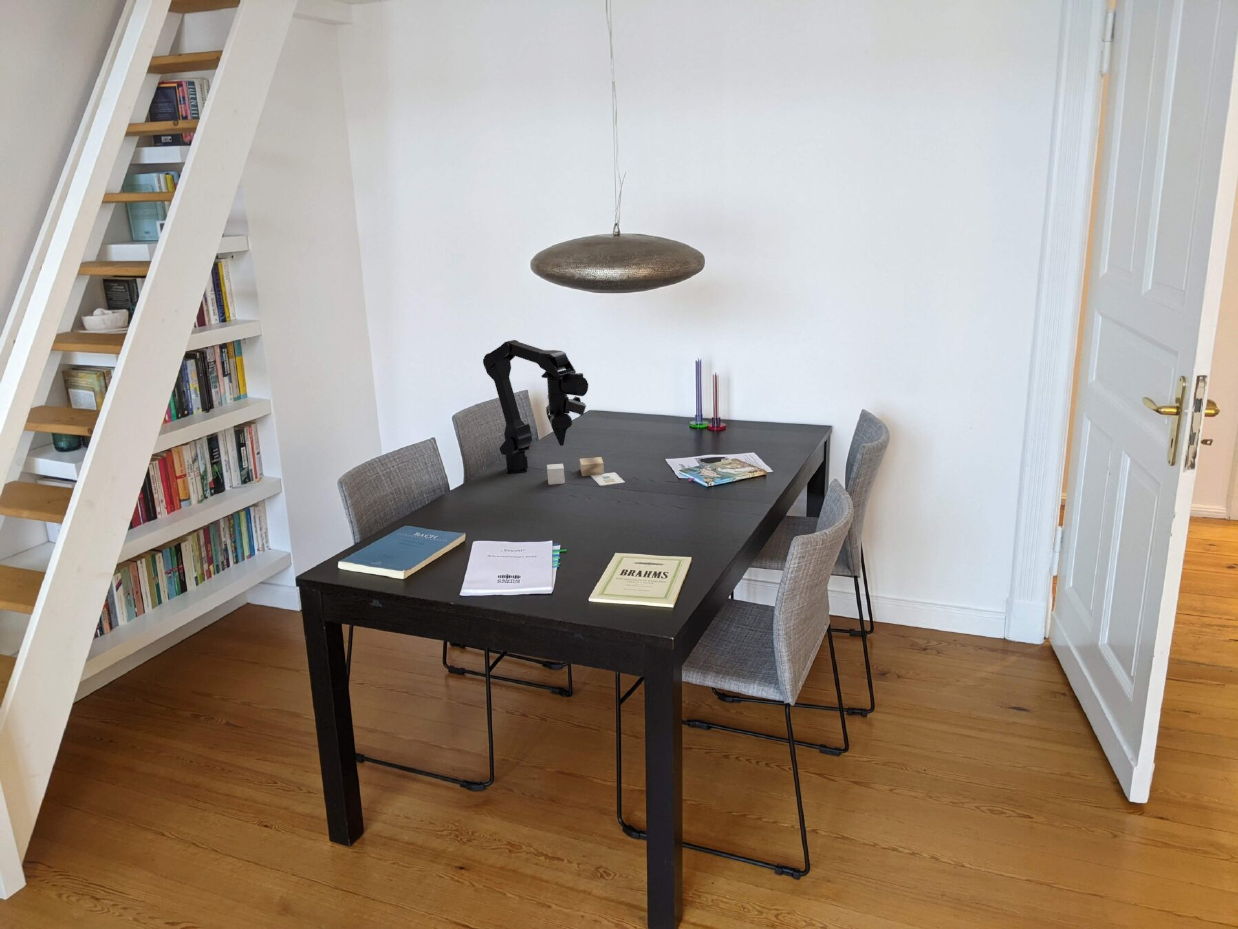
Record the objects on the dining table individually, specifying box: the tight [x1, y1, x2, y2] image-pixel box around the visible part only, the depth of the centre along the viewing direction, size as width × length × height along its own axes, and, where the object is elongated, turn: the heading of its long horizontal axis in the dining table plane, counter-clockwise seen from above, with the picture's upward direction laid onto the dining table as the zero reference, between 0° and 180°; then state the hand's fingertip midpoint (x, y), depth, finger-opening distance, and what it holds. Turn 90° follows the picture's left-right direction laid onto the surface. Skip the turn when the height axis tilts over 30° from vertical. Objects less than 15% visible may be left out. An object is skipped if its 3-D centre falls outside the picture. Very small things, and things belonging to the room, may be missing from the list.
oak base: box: [579, 456, 605, 477], centre depth 304 cm, size 7×7×4 cm
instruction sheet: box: [590, 472, 626, 487], centre depth 296 cm, size 8×11×1 cm
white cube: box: [546, 463, 566, 485], centre depth 296 cm, size 5×5×5 cm
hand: (560, 441), depth 295 cm, fingers open, 9 cm apart
